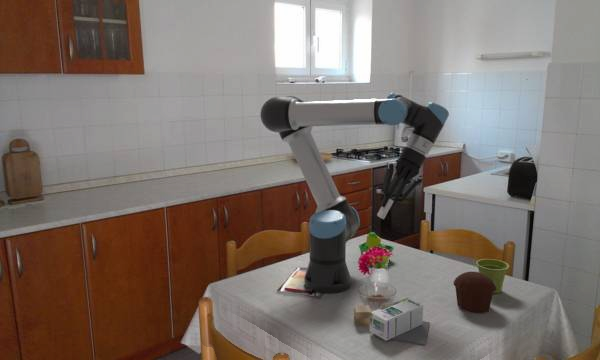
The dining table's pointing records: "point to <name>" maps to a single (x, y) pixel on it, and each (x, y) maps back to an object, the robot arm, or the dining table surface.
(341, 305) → the dining table surface
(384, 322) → the syrup box
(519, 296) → the dining table surface
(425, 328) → the rubber mat
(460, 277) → the muffin
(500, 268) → the plant pot
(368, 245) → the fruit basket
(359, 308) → the oak block
